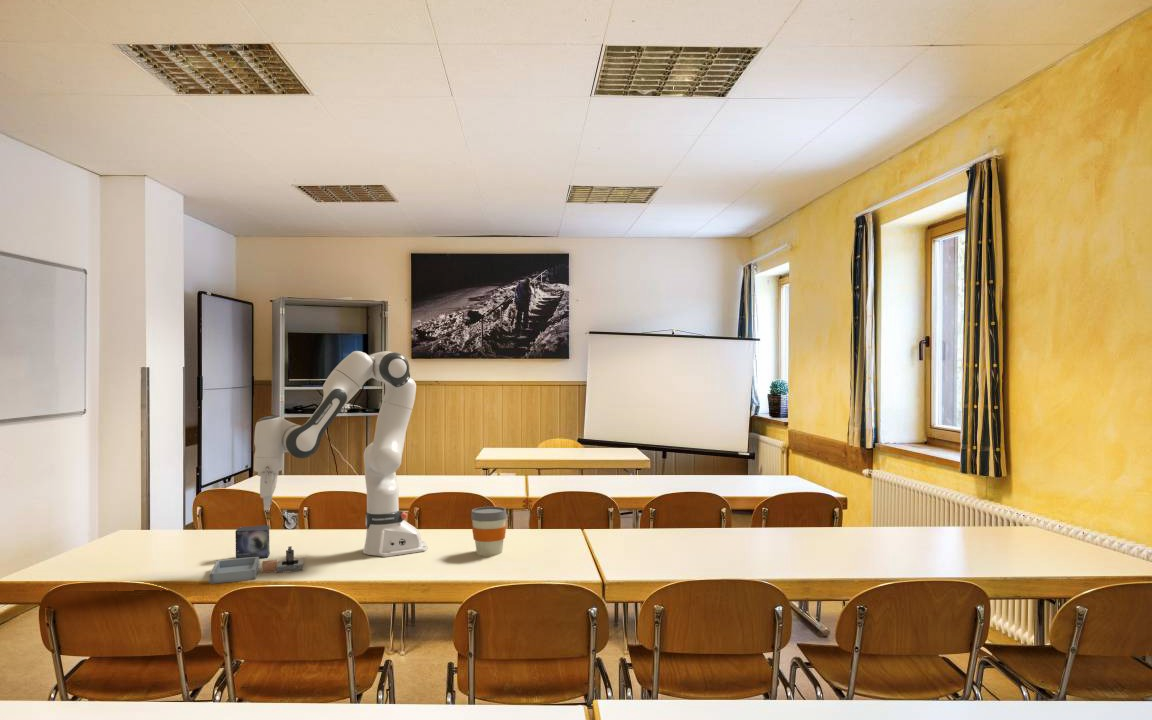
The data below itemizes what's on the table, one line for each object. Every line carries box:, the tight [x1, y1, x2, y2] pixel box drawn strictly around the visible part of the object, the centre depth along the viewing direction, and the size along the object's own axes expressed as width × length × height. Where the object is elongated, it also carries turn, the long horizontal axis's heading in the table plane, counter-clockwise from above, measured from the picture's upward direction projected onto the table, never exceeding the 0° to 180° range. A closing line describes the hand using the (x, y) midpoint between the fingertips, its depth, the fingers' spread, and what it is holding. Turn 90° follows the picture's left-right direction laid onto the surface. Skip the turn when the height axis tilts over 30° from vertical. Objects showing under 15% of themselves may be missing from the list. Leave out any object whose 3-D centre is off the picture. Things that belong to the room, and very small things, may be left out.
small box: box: [235, 524, 271, 560], centre depth 264 cm, size 11×6×10 cm, turn 105°
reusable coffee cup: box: [470, 506, 508, 557], centre depth 265 cm, size 13×13×15 cm
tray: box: [209, 557, 260, 585], centre depth 243 cm, size 13×18×3 cm
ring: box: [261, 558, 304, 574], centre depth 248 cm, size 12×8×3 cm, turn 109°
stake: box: [285, 546, 295, 565], centre depth 248 cm, size 2×3×7 cm
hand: (267, 507), depth 247 cm, fingers open, 8 cm apart
